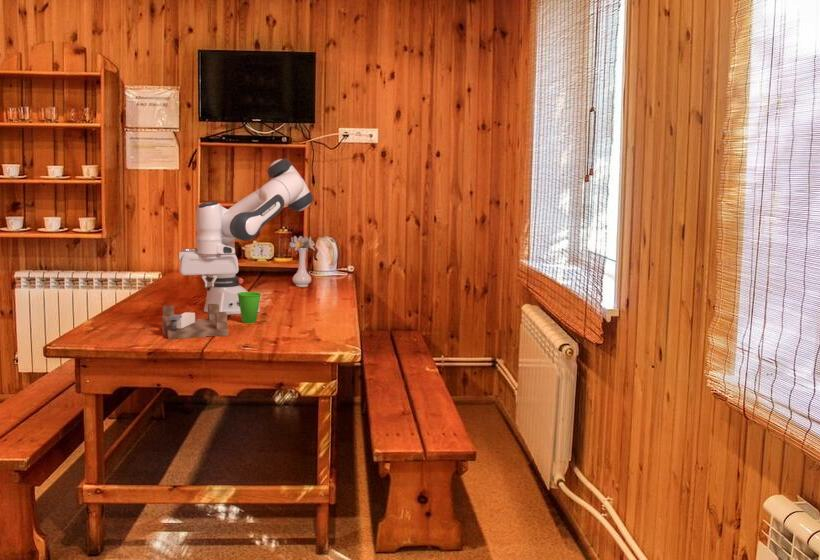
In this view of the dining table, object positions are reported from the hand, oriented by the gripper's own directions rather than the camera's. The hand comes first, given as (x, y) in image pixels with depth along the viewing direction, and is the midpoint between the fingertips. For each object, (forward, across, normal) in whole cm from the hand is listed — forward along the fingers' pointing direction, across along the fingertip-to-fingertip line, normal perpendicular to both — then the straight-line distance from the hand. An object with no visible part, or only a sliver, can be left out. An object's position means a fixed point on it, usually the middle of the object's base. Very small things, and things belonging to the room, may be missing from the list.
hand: (209, 287), depth 282 cm
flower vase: (+16, +60, +96) cm, 114 cm away
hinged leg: (+13, -10, -2) cm, 17 cm away
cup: (+16, +17, +13) cm, 27 cm away
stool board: (+16, -5, +1) cm, 17 cm away
